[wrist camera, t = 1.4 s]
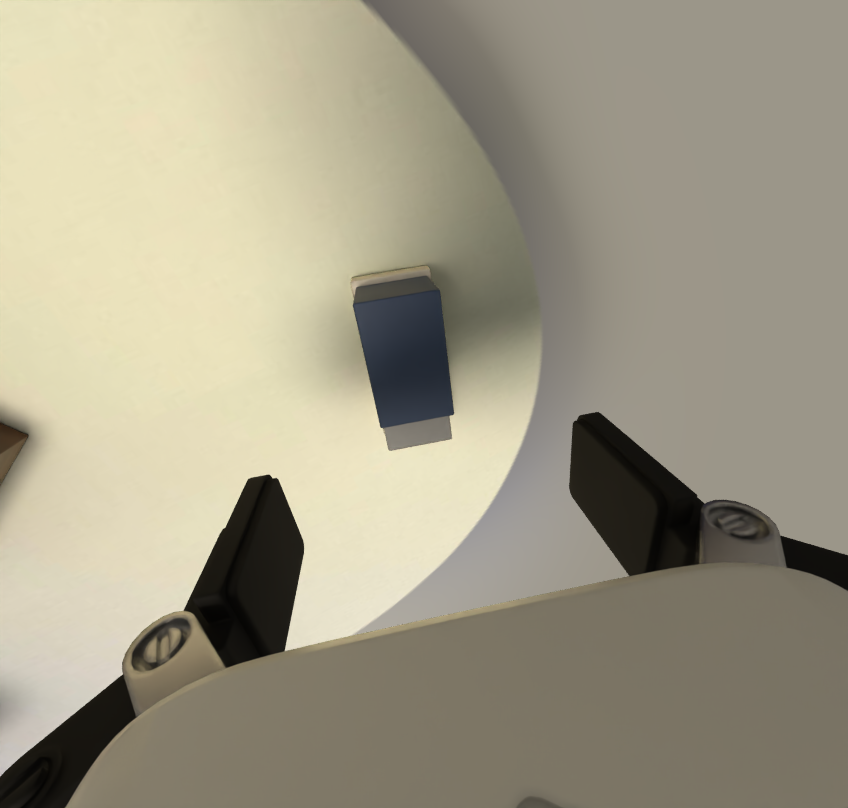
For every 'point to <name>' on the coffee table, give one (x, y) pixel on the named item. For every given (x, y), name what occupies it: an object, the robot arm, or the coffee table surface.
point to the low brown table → (9, 447)
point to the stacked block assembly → (405, 354)
